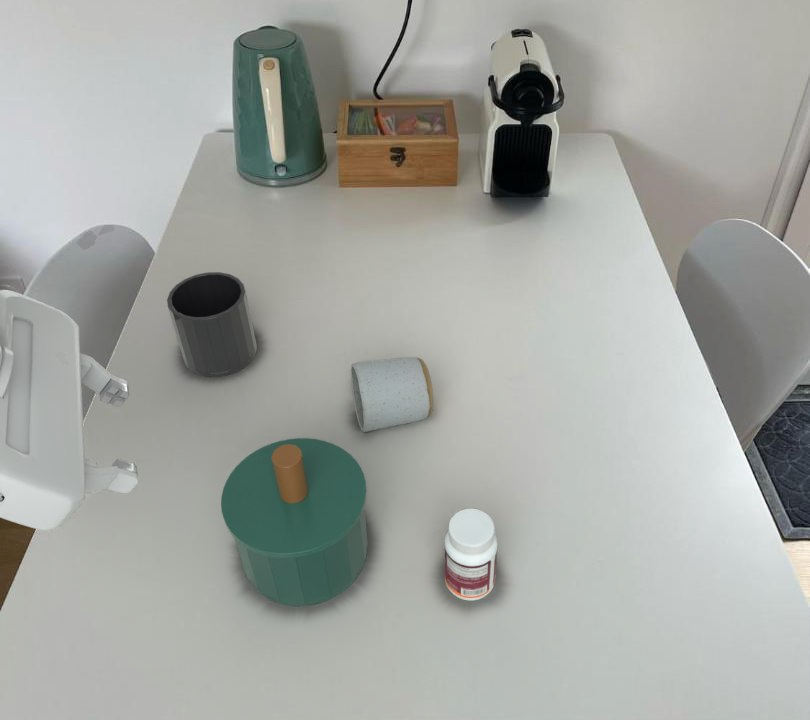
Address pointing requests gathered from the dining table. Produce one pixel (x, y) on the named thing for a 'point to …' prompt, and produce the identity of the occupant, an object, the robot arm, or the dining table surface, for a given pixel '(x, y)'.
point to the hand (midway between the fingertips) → (129, 435)
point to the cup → (213, 323)
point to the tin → (308, 570)
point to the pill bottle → (470, 554)
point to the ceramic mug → (391, 392)
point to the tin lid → (294, 498)
